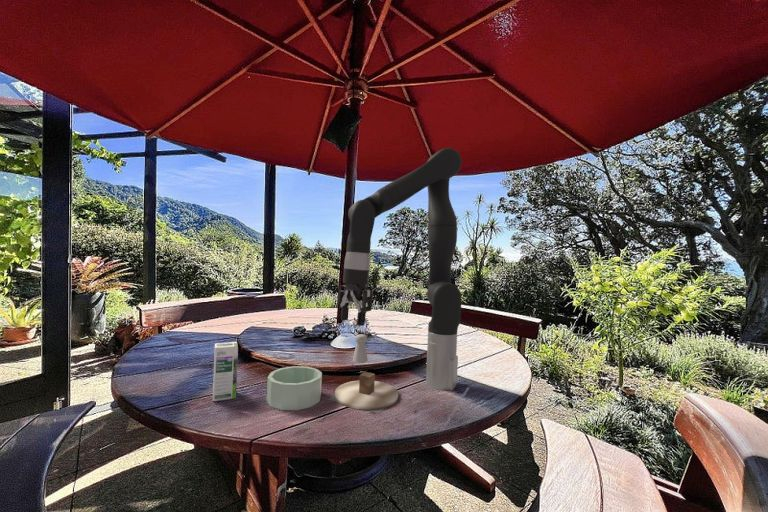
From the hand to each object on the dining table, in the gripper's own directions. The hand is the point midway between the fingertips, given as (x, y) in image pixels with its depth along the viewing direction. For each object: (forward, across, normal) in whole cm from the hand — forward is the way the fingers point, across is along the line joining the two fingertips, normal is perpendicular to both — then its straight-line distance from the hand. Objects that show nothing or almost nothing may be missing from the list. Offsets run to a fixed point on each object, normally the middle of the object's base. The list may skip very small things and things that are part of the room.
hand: (352, 322), depth 98 cm
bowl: (+21, +4, +14) cm, 26 cm away
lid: (+20, -6, -3) cm, 21 cm away
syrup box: (+22, +17, +29) cm, 40 cm away
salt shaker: (+20, +12, -14) cm, 27 cm away
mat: (+20, -6, -3) cm, 21 cm away
